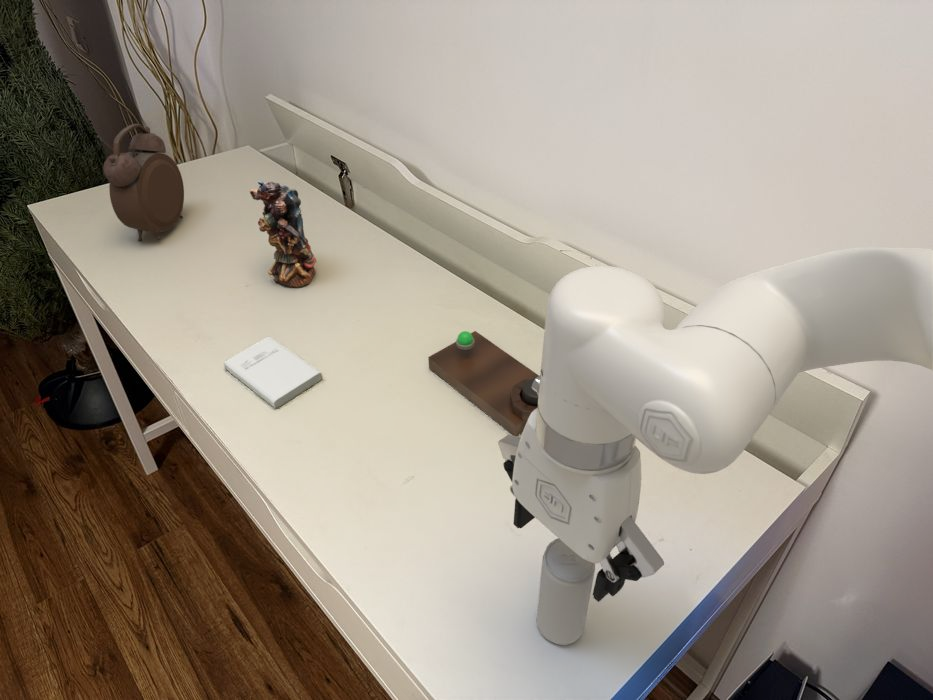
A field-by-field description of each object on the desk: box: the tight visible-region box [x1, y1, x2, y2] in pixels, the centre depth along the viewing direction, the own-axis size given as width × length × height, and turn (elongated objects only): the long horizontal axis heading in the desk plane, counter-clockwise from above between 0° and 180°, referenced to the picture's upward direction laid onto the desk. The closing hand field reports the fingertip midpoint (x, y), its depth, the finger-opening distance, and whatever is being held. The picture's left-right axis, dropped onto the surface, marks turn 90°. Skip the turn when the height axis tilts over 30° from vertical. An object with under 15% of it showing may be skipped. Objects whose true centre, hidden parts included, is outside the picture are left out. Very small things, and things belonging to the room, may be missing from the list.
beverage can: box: [536, 537, 596, 646], centre depth 67 cm, size 5×5×12 cm
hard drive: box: [223, 336, 323, 409], centre depth 100 cm, size 2×8×12 cm
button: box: [522, 378, 538, 407], centre depth 90 cm, size 4×4×2 cm
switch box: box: [427, 330, 540, 437], centre depth 96 cm, size 20×9×4 cm, turn 41°
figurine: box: [249, 180, 317, 288], centre depth 113 cm, size 11×9×18 cm
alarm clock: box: [102, 123, 185, 242], centre depth 126 cm, size 14×7×20 cm, turn 169°
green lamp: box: [455, 330, 475, 350], centre depth 98 cm, size 3×3×2 cm
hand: (565, 552), depth 63 cm, fingers open, 9 cm apart
